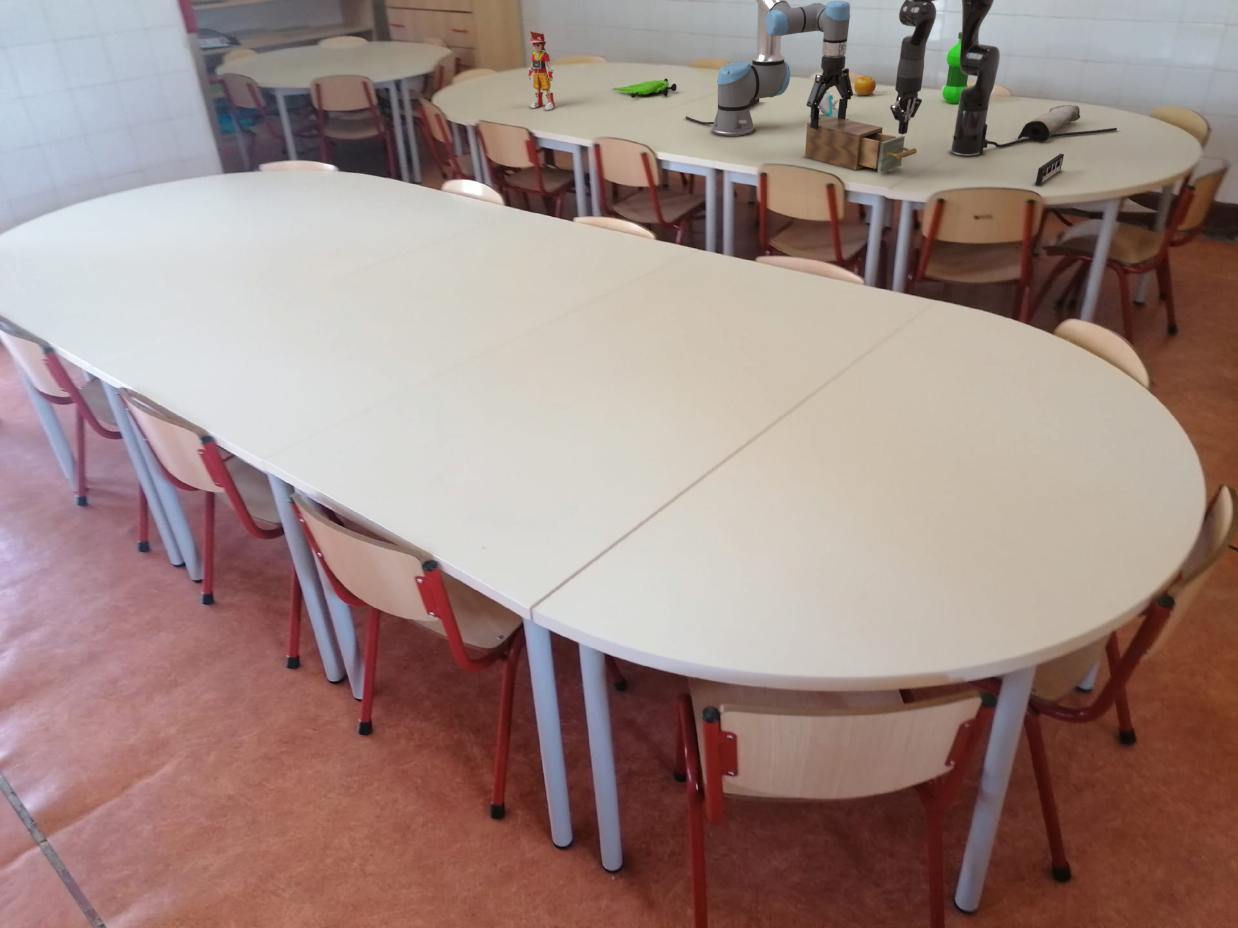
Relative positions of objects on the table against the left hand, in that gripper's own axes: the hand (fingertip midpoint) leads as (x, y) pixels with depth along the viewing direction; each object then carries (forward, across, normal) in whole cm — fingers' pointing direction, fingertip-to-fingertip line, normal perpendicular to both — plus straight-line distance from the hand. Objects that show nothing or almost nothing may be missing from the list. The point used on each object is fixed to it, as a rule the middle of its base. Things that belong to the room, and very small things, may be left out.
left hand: (827, 124), depth 300 cm
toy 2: (+13, +20, +123) cm, 125 cm away
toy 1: (+12, -25, +135) cm, 138 cm away
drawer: (+9, 0, -20) cm, 22 cm away
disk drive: (+12, +30, +71) cm, 78 cm away
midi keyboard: (+10, +26, -66) cm, 72 cm away
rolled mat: (+10, +73, -39) cm, 83 cm away
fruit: (+12, +76, +45) cm, 89 cm away
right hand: (-2, 0, -30) cm, 30 cm away
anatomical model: (+11, +38, +30) cm, 50 cm away
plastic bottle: (+11, +88, +10) cm, 89 cm away
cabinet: (+10, 0, -7) cm, 13 cm away
